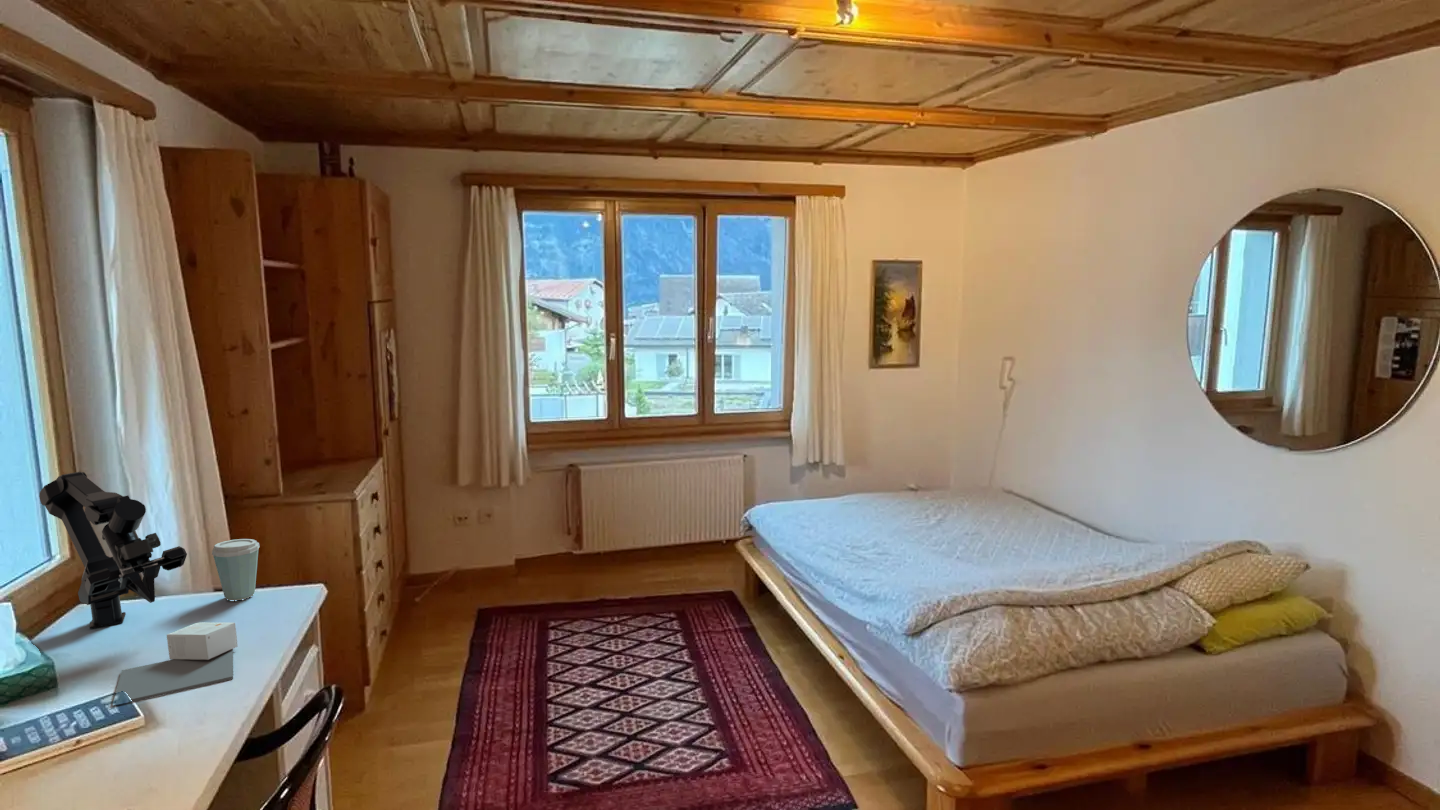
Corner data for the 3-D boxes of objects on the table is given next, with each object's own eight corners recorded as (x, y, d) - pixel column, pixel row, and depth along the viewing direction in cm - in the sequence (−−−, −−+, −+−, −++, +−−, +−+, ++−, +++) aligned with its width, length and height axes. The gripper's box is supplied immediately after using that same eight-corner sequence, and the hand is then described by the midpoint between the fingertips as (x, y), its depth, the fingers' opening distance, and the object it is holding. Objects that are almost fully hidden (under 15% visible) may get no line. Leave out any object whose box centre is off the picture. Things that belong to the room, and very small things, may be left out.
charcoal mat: (122, 672, 170) (121, 670, 170) (232, 649, 180) (232, 646, 180) (112, 706, 156) (112, 703, 156) (233, 678, 166) (232, 676, 166)
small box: (168, 659, 174) (207, 660, 172) (165, 634, 174) (204, 634, 171) (200, 646, 182) (238, 647, 180) (198, 621, 182) (236, 622, 179)
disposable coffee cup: (229, 590, 215) (223, 536, 213) (272, 588, 216) (266, 534, 214) (209, 606, 204) (202, 549, 202) (254, 603, 206) (247, 547, 203)
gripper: (78, 540, 173) (107, 601, 169) (176, 513, 187) (204, 569, 183) (73, 565, 179) (101, 624, 175) (168, 537, 193) (196, 591, 190)
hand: (152, 601), depth 181 cm, fingers closed
